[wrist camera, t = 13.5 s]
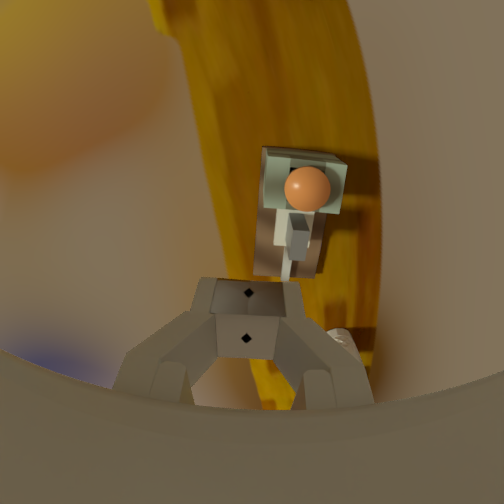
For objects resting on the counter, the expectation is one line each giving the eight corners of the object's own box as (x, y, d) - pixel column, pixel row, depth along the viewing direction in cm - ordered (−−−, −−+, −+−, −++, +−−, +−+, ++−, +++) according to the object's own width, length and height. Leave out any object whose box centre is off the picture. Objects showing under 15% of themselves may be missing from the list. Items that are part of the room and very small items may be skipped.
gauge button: (284, 158, 31) (287, 165, 28) (325, 163, 31) (333, 170, 28) (280, 198, 34) (282, 209, 30) (319, 201, 34) (326, 213, 30)
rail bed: (262, 145, 36) (263, 155, 29) (333, 153, 36) (351, 165, 29) (253, 269, 46) (252, 302, 39) (312, 273, 46) (321, 306, 39)
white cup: (358, 340, 54) (370, 376, 46) (326, 355, 57) (333, 392, 48) (344, 319, 51) (356, 358, 43) (310, 336, 54) (316, 376, 45)
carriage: (277, 198, 38) (280, 221, 31) (312, 201, 38) (323, 224, 31) (273, 237, 41) (275, 266, 34) (306, 239, 41) (315, 268, 34)
